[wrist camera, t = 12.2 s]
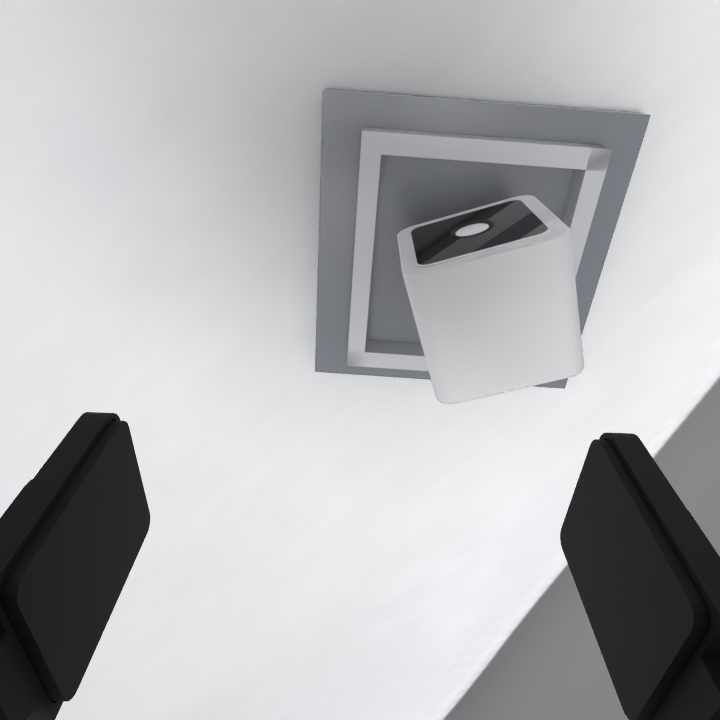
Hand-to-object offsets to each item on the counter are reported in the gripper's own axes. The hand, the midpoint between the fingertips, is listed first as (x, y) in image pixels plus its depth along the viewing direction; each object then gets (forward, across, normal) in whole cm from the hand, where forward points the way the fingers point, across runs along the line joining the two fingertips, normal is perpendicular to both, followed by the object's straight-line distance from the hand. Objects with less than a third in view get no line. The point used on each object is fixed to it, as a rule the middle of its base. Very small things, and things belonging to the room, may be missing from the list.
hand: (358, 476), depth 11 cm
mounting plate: (+22, -6, +3) cm, 22 cm away
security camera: (+20, -6, +2) cm, 21 cm away
